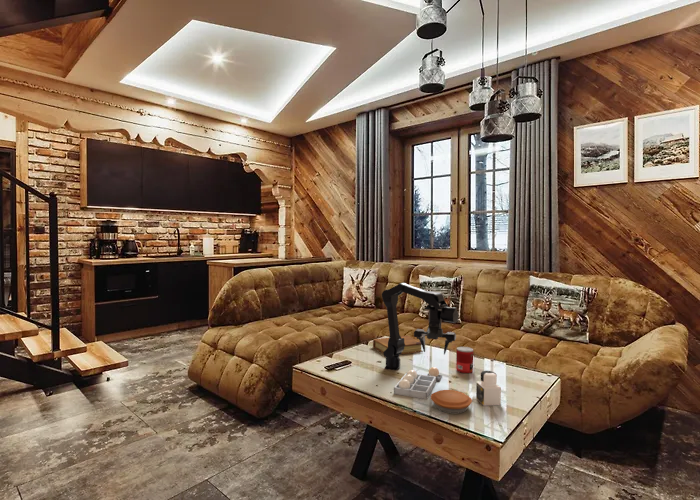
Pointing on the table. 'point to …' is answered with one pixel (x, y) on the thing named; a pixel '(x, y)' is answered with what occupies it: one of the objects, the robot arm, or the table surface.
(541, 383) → the table surface
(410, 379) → the white egg
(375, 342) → the diary
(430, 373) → the brown egg
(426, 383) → the egg tray
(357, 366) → the table surface
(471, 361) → the canned food
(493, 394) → the medicine bottle
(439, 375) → the egg dish
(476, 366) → the table surface
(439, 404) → the pie
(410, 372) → the white egg
